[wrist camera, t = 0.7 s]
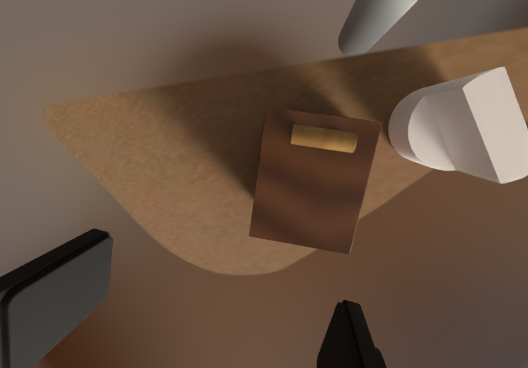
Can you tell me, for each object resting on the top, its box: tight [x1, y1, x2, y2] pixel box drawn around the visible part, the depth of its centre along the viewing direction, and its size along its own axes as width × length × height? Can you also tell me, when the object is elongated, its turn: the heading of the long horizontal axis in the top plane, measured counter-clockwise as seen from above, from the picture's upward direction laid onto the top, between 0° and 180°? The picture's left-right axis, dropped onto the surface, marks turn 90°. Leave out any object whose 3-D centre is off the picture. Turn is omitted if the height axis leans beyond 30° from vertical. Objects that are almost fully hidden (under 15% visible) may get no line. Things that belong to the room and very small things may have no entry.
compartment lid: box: [249, 107, 382, 254], centre depth 23 cm, size 13×11×5 cm
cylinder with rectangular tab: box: [388, 67, 528, 184], centre depth 26 cm, size 9×9×12 cm
